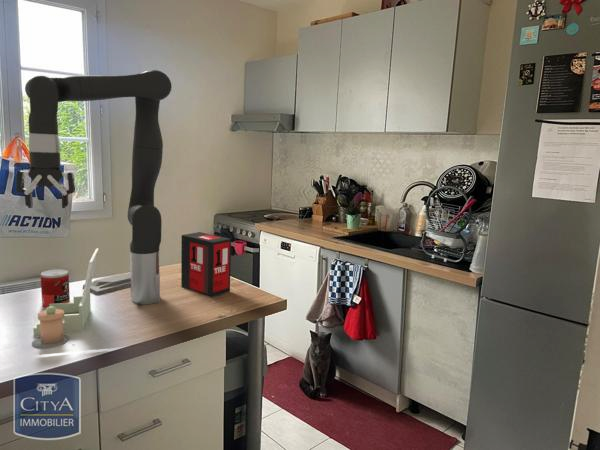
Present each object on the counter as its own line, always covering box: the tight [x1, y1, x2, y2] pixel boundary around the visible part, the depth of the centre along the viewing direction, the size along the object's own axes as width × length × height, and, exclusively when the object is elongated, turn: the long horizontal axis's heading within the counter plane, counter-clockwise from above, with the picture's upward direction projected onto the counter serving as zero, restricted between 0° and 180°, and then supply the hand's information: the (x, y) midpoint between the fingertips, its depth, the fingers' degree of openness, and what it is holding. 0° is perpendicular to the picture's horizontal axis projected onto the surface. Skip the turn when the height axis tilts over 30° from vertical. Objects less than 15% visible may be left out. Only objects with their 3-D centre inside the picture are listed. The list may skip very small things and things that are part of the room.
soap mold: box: [82, 273, 131, 296], centre depth 162 cm, size 10×20×4 cm, turn 144°
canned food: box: [40, 268, 71, 309], centre depth 139 cm, size 8×8×11 cm
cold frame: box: [33, 289, 92, 336], centre depth 126 cm, size 12×16×8 cm
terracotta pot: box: [37, 306, 65, 345], centre depth 114 cm, size 6×6×9 cm
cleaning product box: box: [180, 231, 232, 298], centre depth 161 cm, size 16×9×20 cm, turn 54°
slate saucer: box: [31, 334, 70, 350], centre depth 114 cm, size 8×8×1 cm
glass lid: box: [81, 248, 99, 304], centre depth 127 cm, size 12×16×1 cm
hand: (47, 207), depth 126 cm, fingers open, 8 cm apart
